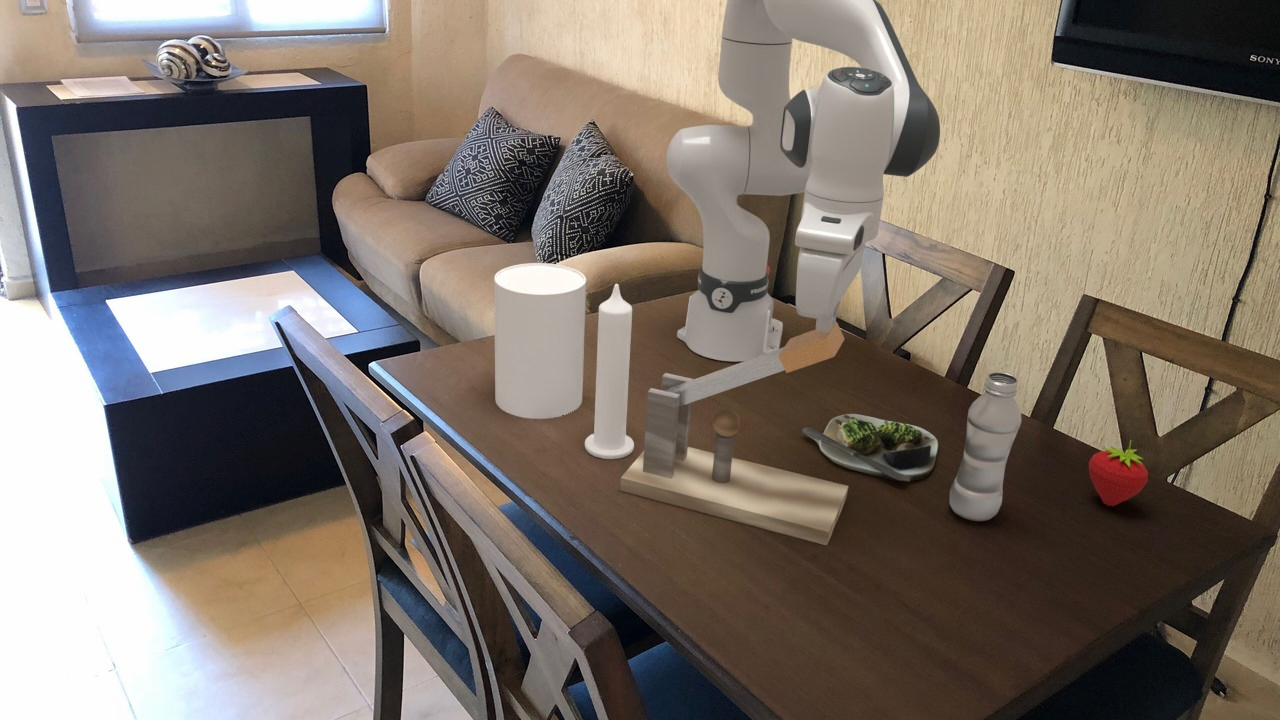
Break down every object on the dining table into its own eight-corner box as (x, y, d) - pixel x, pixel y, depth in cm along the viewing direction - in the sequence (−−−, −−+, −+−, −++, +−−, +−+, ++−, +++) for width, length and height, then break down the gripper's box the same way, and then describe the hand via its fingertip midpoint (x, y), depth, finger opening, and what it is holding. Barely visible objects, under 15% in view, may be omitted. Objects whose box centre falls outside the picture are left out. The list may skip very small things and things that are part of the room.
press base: (653, 450, 144) (659, 362, 138) (846, 498, 135) (861, 406, 129) (620, 490, 134) (625, 397, 128) (826, 545, 125) (842, 447, 119)
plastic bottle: (936, 504, 135) (964, 370, 126) (977, 497, 137) (1007, 364, 129) (966, 531, 129) (997, 392, 121) (1008, 523, 132) (1042, 386, 123)
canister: (479, 407, 153) (477, 284, 145) (519, 373, 165) (519, 257, 157) (560, 426, 149) (563, 300, 141) (595, 389, 161) (600, 272, 153)
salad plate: (787, 464, 143) (791, 435, 141) (816, 412, 158) (820, 386, 156) (925, 498, 137) (931, 468, 135) (942, 441, 152) (947, 414, 150)
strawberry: (1089, 486, 141) (1106, 423, 137) (1144, 508, 137) (1164, 444, 133) (1072, 501, 137) (1089, 437, 133) (1128, 524, 133) (1148, 459, 129)
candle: (628, 462, 140) (637, 296, 130) (579, 455, 142) (584, 289, 131) (638, 439, 147) (647, 278, 136) (591, 432, 148) (597, 272, 138)
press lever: (668, 400, 136) (660, 385, 136) (844, 338, 123) (836, 321, 123) (652, 419, 131) (644, 403, 131) (834, 356, 118) (826, 338, 118)
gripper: (832, 192, 125) (818, 296, 130) (791, 235, 107) (777, 353, 113) (883, 200, 123) (867, 305, 128) (850, 245, 105) (833, 364, 111)
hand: (825, 328), depth 121 cm, fingers closed
